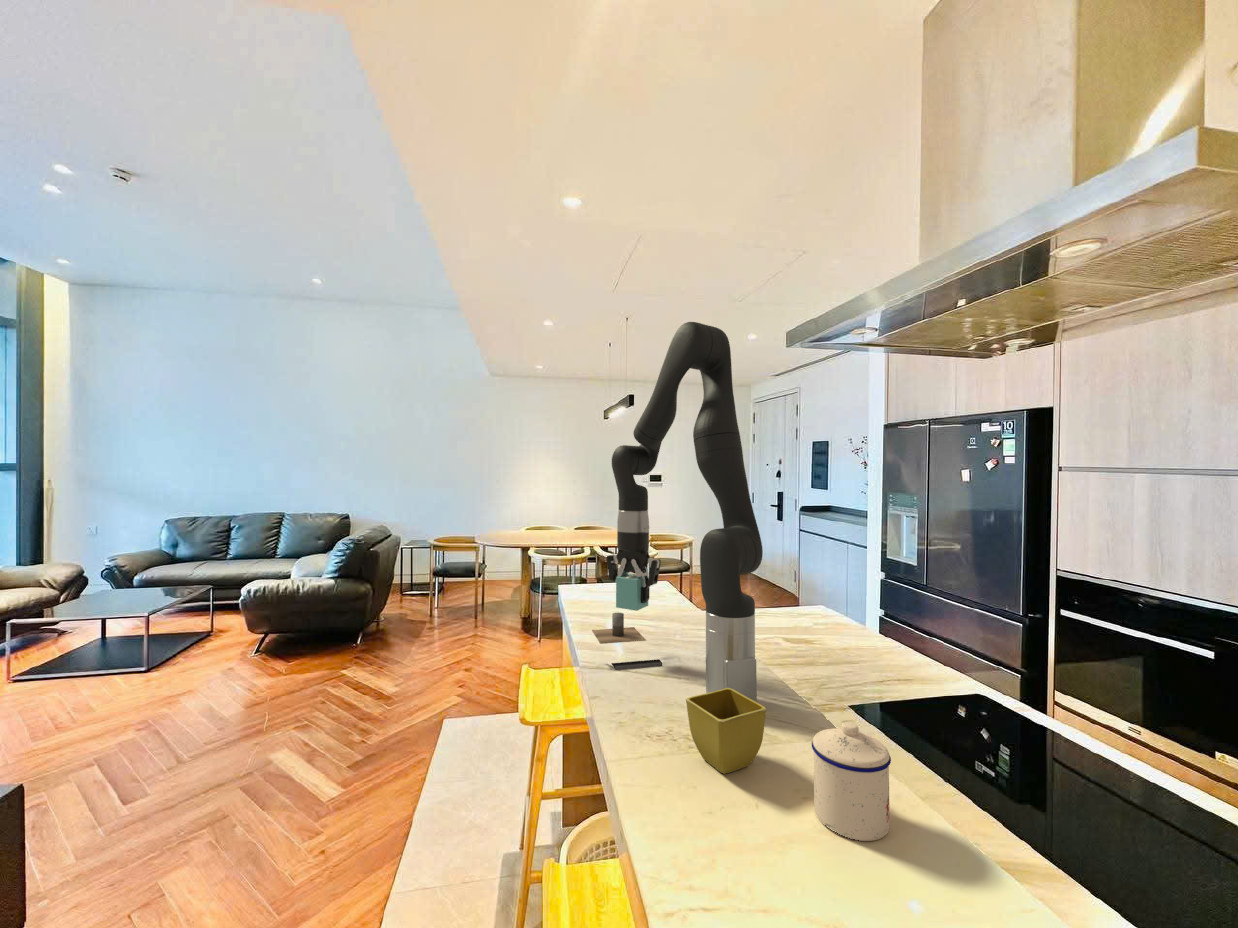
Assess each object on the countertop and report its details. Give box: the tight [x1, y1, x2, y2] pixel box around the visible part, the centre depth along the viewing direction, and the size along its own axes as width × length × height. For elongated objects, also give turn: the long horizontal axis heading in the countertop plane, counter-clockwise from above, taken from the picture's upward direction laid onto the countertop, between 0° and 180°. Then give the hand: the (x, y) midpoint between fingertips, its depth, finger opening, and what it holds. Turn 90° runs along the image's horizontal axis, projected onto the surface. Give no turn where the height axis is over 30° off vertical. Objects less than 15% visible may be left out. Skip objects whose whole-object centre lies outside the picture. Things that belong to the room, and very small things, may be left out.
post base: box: [591, 612, 647, 645], centre depth 136 cm, size 12×12×7 cm
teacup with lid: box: [811, 721, 892, 842], centre depth 66 cm, size 12×9×12 cm
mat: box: [610, 658, 663, 671], centre depth 122 cm, size 11×11×1 cm
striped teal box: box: [615, 573, 649, 612], centre depth 122 cm, size 6×6×7 cm
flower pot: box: [685, 688, 767, 775], centre depth 78 cm, size 9×9×9 cm
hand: (632, 600), depth 122 cm, fingers closed on striped teal box, 5 cm apart
